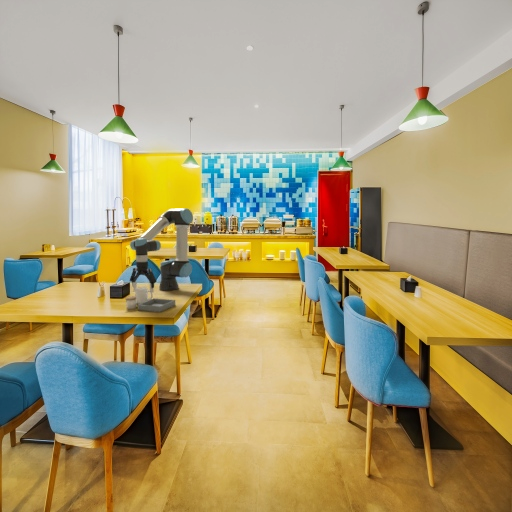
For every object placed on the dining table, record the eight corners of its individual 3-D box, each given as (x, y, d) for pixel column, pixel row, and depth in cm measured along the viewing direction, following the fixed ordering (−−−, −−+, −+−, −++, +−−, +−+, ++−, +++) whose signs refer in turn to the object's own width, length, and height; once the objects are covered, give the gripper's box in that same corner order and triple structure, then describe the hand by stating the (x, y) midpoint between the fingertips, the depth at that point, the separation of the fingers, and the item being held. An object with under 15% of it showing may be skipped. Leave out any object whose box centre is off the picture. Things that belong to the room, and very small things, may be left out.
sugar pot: (131, 306, 212) (130, 296, 211) (139, 306, 210) (138, 296, 209) (123, 308, 206) (123, 298, 205) (132, 309, 204) (131, 299, 203)
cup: (139, 300, 225) (138, 286, 224) (155, 301, 223) (154, 286, 222) (133, 304, 217) (132, 289, 216) (150, 304, 215) (149, 289, 214)
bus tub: (154, 303, 218) (154, 298, 217) (175, 305, 213) (175, 300, 212) (138, 310, 202) (137, 304, 202) (160, 312, 197) (160, 306, 197)
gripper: (123, 261, 217) (124, 292, 219) (154, 262, 209) (155, 294, 211) (130, 260, 224) (132, 289, 226) (161, 261, 216) (162, 292, 218)
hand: (143, 292), depth 219 cm, fingers open, 13 cm apart
